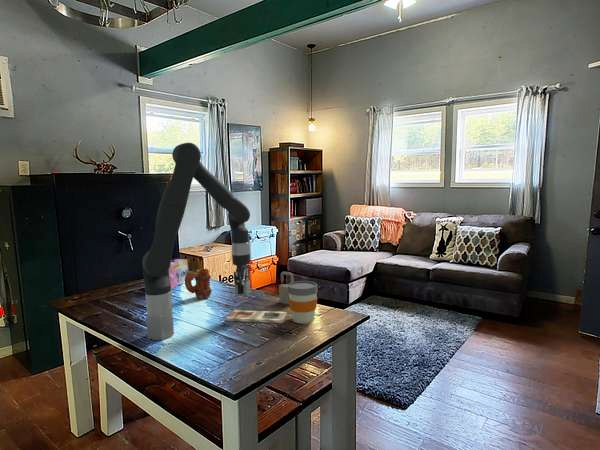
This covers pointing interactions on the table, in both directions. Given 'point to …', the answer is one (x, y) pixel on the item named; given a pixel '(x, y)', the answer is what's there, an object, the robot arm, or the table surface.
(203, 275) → the mug
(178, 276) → the gum box
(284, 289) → the padlock
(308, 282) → the reusable coffee cup
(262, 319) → the beige flat rectangular frame
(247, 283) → the grey block
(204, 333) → the table surface
